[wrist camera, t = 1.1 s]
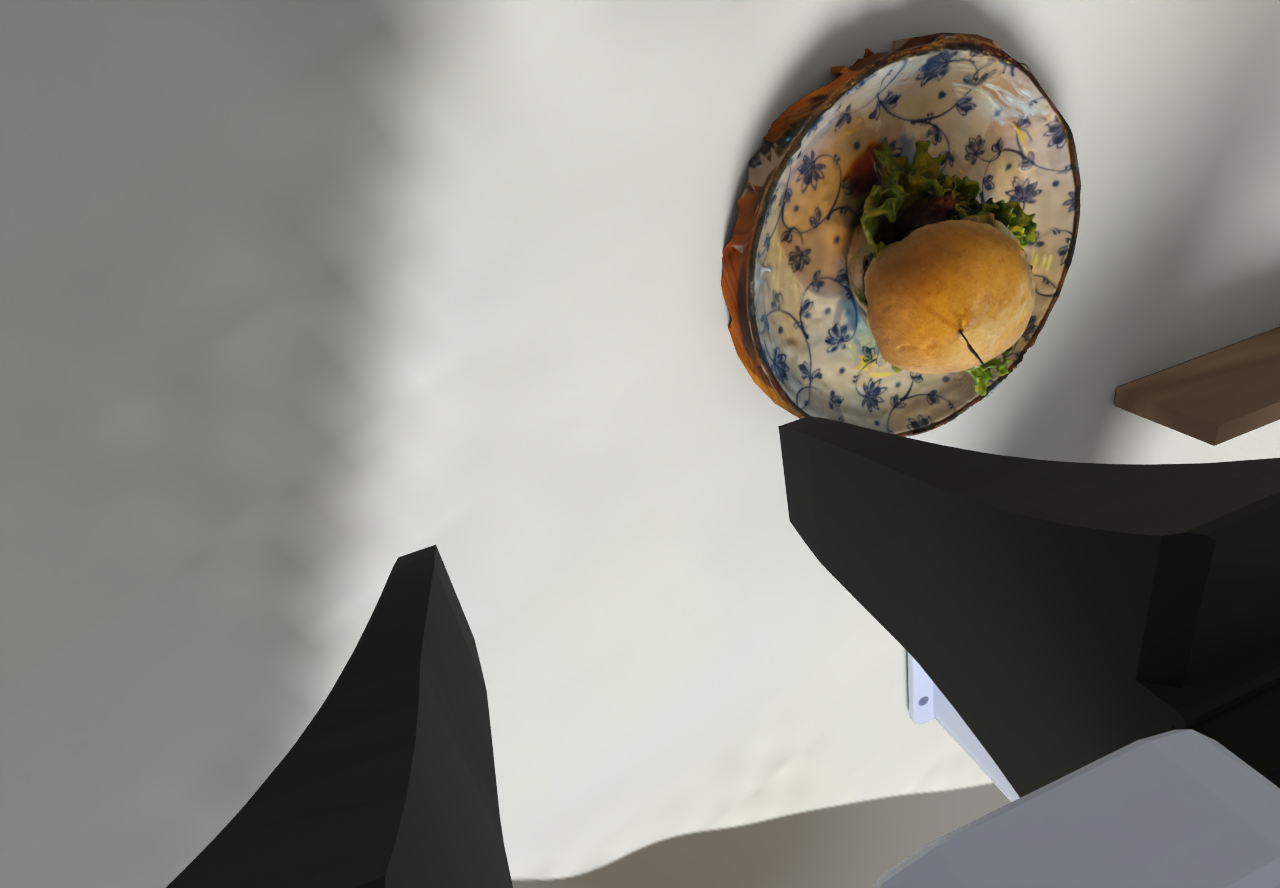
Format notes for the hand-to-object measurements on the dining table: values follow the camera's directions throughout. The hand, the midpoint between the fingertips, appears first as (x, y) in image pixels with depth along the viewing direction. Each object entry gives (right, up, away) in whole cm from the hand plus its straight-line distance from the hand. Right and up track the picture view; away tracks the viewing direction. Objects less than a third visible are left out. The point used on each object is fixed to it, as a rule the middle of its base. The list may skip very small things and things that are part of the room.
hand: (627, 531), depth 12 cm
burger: (+8, +8, +11) cm, 16 cm away
